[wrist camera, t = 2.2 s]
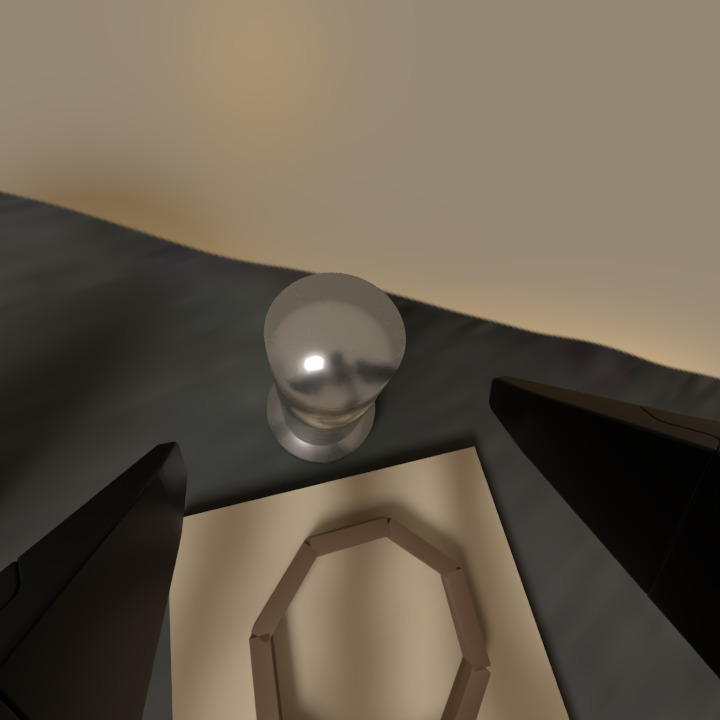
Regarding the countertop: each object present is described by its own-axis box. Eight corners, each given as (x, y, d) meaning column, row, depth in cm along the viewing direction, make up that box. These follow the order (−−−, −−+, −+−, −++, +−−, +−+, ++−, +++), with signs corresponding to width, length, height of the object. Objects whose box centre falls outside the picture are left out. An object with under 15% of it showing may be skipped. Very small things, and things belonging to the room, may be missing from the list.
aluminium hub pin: (359, 355, 21) (401, 246, 12) (382, 450, 19) (455, 405, 10) (262, 370, 20) (226, 261, 11) (276, 475, 18) (247, 448, 9)
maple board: (466, 448, 20) (483, 443, 18) (571, 759, 15) (608, 794, 13) (175, 519, 16) (158, 522, 14) (190, 959, 11) (169, 1046, 10)
